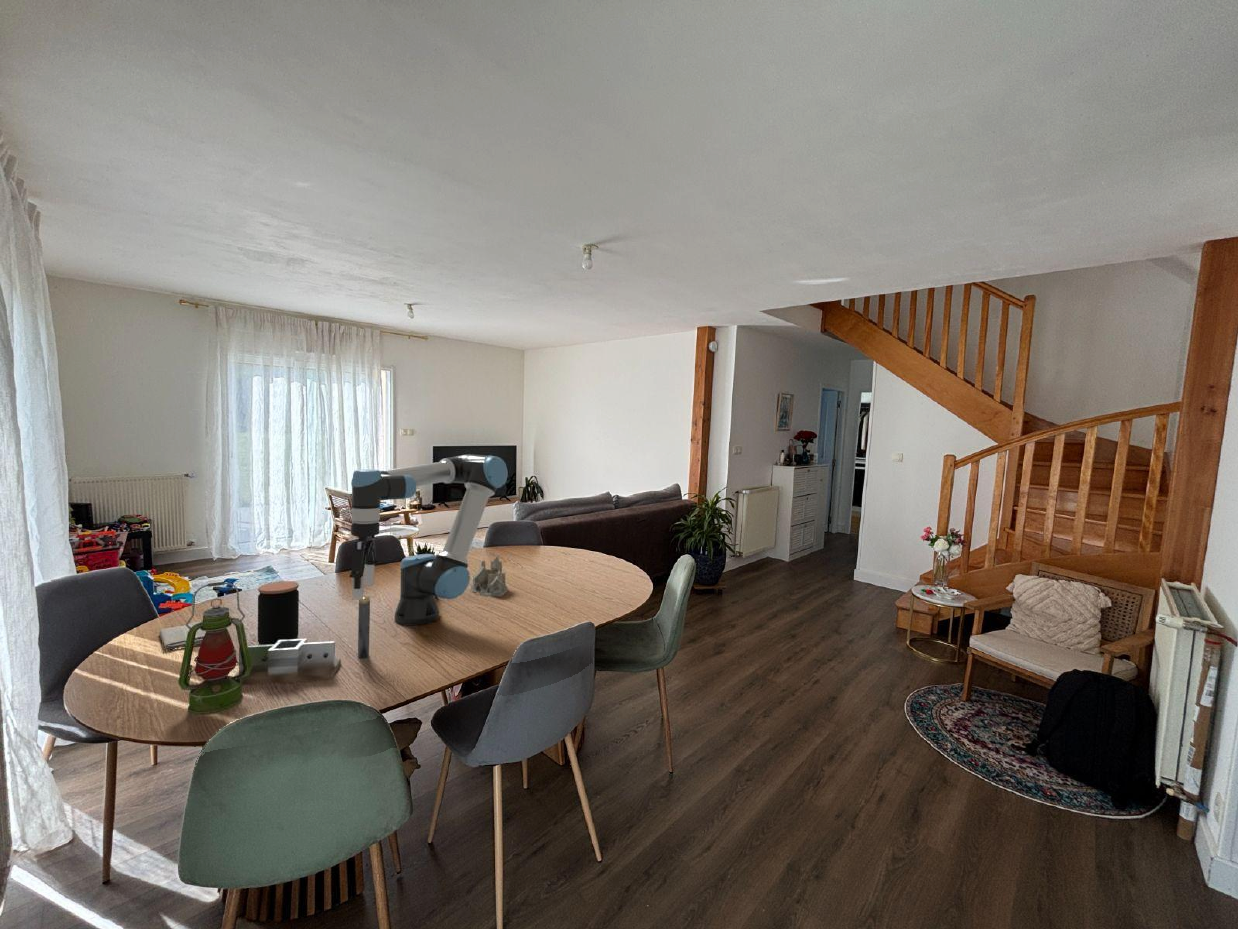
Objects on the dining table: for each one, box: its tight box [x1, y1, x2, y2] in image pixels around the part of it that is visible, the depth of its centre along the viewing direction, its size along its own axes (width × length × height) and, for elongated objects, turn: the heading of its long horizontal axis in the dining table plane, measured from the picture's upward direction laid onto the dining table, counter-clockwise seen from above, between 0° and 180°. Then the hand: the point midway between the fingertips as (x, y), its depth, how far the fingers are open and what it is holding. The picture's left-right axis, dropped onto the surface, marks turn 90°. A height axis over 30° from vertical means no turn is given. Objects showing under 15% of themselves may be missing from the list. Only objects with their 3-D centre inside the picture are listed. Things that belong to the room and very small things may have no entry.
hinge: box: [238, 638, 336, 676], centre depth 138 cm, size 23×7×7 cm, turn 104°
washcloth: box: [158, 620, 206, 651], centre depth 158 cm, size 12×18×3 cm, turn 48°
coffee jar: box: [257, 580, 300, 645], centre depth 158 cm, size 11×11×18 cm
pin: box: [357, 595, 371, 660], centre depth 150 cm, size 3×3×18 cm
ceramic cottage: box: [470, 555, 508, 597], centre depth 218 cm, size 16×16×15 cm
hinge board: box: [232, 658, 342, 686], centre depth 138 cm, size 24×9×2 cm, turn 104°
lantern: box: [178, 581, 251, 716], centre depth 122 cm, size 14×11×30 cm
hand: (363, 592), depth 150 cm, fingers open, 13 cm apart
